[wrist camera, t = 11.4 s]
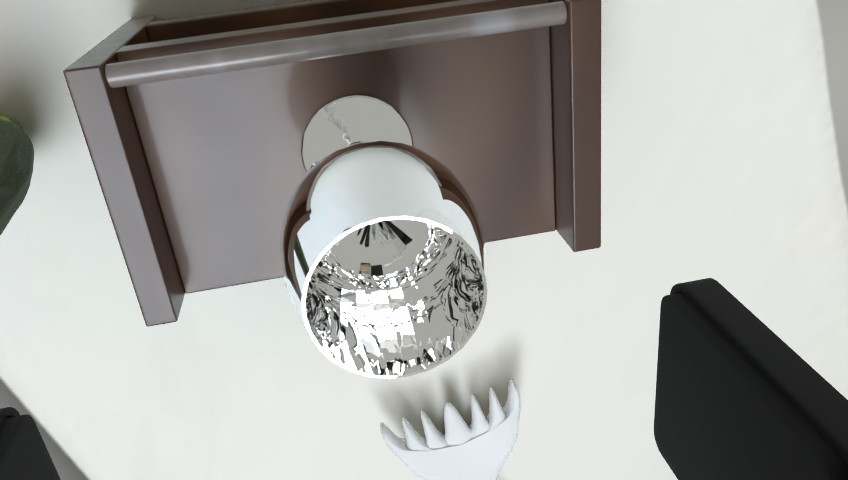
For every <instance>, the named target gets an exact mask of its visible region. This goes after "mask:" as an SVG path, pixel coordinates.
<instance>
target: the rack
mask: <svg viewBox="0 0 848 480" xmlns="http://www.w3.org/2000/svg"><path fill="white" fill-rule="evenodd" d="M63 73H64V76H65V79H66V82H67V85H68V88H69V91H70V94H71V97H72V100H73V103H74V106H75V109H76V112H77V115H78V118H79V122H80V125H81V128H82V131H83V134H84V137H85V140H86V143H87V146H88V149H89V152H90V155H91V158H92V161H93V164H94V167H95V170H96V173H97V176H98V180H99V183H100V186H101V189H102V192H103V195H104V198H105V201H106V204H107V207H108V210H109V213H110V216H111V219H112V222H113V225H114V228H115V231H116V235H117V238H118V241H119V244H120V247H121V250H122V253H123V256H124V259H125V262H126V265H127V268H128V271H129V274H130V277H131V280H132V283H133V286H134V290H135V293H136V296H137V299H138V302H139V305H140V308H141V311H142V314H143V317H144V320H145V323H146V326H153V325H159V324H165V323H171V322H176V321H177V320H178V316H179V312H180V309H181V305H182V301H183V298H184V294H185V293H192V292H198V291H204V290H210V289H216V288H221V287H227V286H233V285H239V284H245V283H251V282H257V281H262V280H268V279H274V278H280V277H284V275H283V269H282V264H281V258H280V234H281V226H282V221H283V216H284V214H285V211H286V208H287V206H288V203H289V201H290V198H291V195H292V193H293V192H294V190H295V189H296V187H297V185H298V184H299V182H300V181H301V179H302V177H303V176H304V175H305V174H306V171H305V169H304V166H303V162H302V157H301V140H302V137H303V134H304V131H305V127H306V126H307V124H308V122H309V120H310V119H311V118H312V116H313V115H314V114H315V113H316V112H317V111H318V110H319V109H320V108H321V107H323V106H324V105H325V104H327V103H329V102H331V101H332V100H334V99H337V98H340V97H343V96H349V95H368V96H372V97H375V98H379V99H381V100H383V101H385V102H387V103H389V104H390V105H392V106H393V107H394V108H395V109H396V110H397V111H399V112H400V113H401V115H402V116H403V118H404V119H405V120H406V122H407V123H408V126H409V128H410V131H411V133H412V138H413V145H414V147H416V148H418V149H421V150H422V151H424V152H426V153H427V154H429V155H431V156H432V157H434V158H436V159H437V160H438V161H440V162H441V163H442V164H443V165H444V166H446V167H447V168H448V169H449V170H450V171H451V172H452V173H453V174H454V175H455V176H456V177H457V178H458V180H459V181H460V182H461V183H462V185H463V186H464V188H465V190H466V191H467V193H468V195H469V196H470V198H471V200H472V202H473V205H474V207H475V209H476V212H477V214H478V216H479V220H480V223H481V227H482V231H483V235H484V241H485V242H491V241H497V240H503V239H508V238H514V237H520V236H526V235H532V234H538V233H544V232H549V231H555V230H557V231H558V232H559V234H560V235H561V236H562V238H563V239H564V240H565V241H566V243H567V244H568V245H569V246H570V248H571V249H572V250H573V251H574V252H577V251H583V250H588V249H594V248H599V247H600V246H601V0H311V1H303V2H296V3H288V4H281V5H273V6H266V7H258V8H251V9H243V10H236V11H228V12H221V13H213V14H206V15H198V16H191V17H183V18H176V19H168V20H161V21H158V20H157V17H156V16H148V17H140V18H133V19H130V20H129V21H128V22H126V23H125V24H124V25H122V26H121V27H120V28H119V29H117V30H116V31H115V32H113V33H112V34H111V35H109V36H108V37H107V38H105V39H104V40H103V41H102V42H100V43H99V44H98V45H96V46H95V47H94V48H92V49H91V50H90V51H89V52H87V53H86V54H85V55H83V56H82V57H81V58H79V59H78V60H77V61H75V62H74V63H73V64H72V65H70V66H69V67H68V68H66V69H65V70H64V71H63Z"/></svg>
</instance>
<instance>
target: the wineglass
mask: <svg viewBox="0 0 848 480" xmlns="http://www.w3.org/2000/svg"><path fill="white" fill-rule="evenodd" d="M301 157H302V162H303V166H304V169H305V171H306V174H305V175H304V176H303V177H302V179H301V181H300V182H299V184H298V185H297V187H296V189H295V190H294V192H293V193H292V195H291V198H290V201H289V203H288V206H287V208H286V211H285V214H284V216H283V221H282V226H281V234H280V258H281V264H282V269H283V275H284V279H285V282H286V286H287V289H288V292H289V295H290V298H291V300H292V303H293V305H294V307H295V309H296V311H297V314H298V316H299V318H300V320H301V322H302V324H303V326H304V327H305V329H306V331H307V333H308V334H309V336H310V337H311V339H312V340H313V342H314V343H315V344H316V346H317V347H318V348H319V350H320V351H321V352H322V353H323V354H324V355H325V356H327V357H328V358H329V359H330V360H331V361H333V362H334V363H335V364H337V365H339V366H341V367H343V368H345V369H346V370H348V371H350V372H353V373H357V374H360V375H364V376H367V377H376V378H387V379H390V378H398V377H407V376H412V375H415V374H419V373H422V372H425V371H428V370H430V369H432V368H434V367H436V366H438V365H440V364H442V363H443V362H445V361H447V360H448V359H450V358H451V357H452V356H453V355H454V354H456V353H457V352H458V351H459V350H460V349H462V348H463V347H464V345H465V344H466V343H467V341H468V340H469V339H470V338H471V336H472V335H473V334H474V332H475V331H476V329H477V327H478V325H479V324H480V321H481V319H482V316H483V314H484V309H485V305H486V297H487V257H486V249H485V241H484V235H483V231H482V227H481V223H480V220H479V216H478V214H477V212H476V209H475V207H474V205H473V202H472V200H471V198H470V196H469V195H468V193H467V191H466V190H465V188H464V186H463V185H462V183H461V182H460V181H459V180H458V178H457V177H456V176H455V175H454V174H453V173H452V172H451V171H450V170H449V169H448V168H447V167H446V166H444V165H443V164H442V163H441V162H440V161H438V160H437V159H436V158H434V157H432V156H431V155H429V154H427V153H426V152H424V151H422V150H421V149H418V148H416V147H414V145H413V138H412V133H411V131H410V128H409V126H408V123H407V122H406V120H405V119H404V118H403V116H402V115H401V113H400V112H399V111H397V110H396V109H395V108H394V107H393V106H392V105H390V104H389V103H387V102H385V101H383V100H381V99H379V98H375V97H372V96H368V95H349V96H343V97H340V98H337V99H334V100H332V101H331V102H329V103H327V104H325V105H324V106H323V107H321V108H320V109H319V110H318V111H317V112H316V113H315V114H314V115H313V116H312V118H311V119H310V120H309V122H308V124H307V126H306V127H305V131H304V134H303V137H302V140H301Z"/></svg>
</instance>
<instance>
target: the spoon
mask: <svg viewBox="0 0 848 480" xmlns="http://www.w3.org/2000/svg"><path fill="white" fill-rule="evenodd" d="M471 412H472V422H471V425H470V426H468V425H467V424H466V422H465V421H464V420H463V418H462V417H461V415H460V414H459V412H458V411H457V410H456V408H455V407H454V406H453V405H452V404H451V403H446V404H445V406H444V423H445V435H444V434H442V433H440V432H439V431H438V430H437V428H436V427H435V426H434V424H433V423H432V422H431V420H430V419H429V417H428V416H427V415H426V414H425V412H424V411H421V419H422V424H423V428H424V431H425V436H426V437H423V436H421V435H420V434H419V433H418V432H416V431H415V429H414V428H413V427H412V426H411V424H410V423H409V422H408V421H407V420H406V419H405V418H404V417H403V418H402V424H403V428H404V432H405V436H406V439H401V438H399V437H397V436H396V435H395V434H394V433H393V432H392V431H391V430H390V429H389V428H388V427H387V426H386V425H385V424H384V423H382V422H381V423H380V429H381V434H382V437H383V439H384V441H385V443H386V445H387V446H388V447H389V448H390V450H391V451H392V452H393V453H394V454H395V455H396V456H397V457H398V458H399V459H400V460H401V461H402V462H403V463H404V464H405V465H406V466H407V467H408V468H409V469H410V470H411V471H412V472H413V473H414V474H415V475H417V476H418V477H420V478H422V479H424V480H497V477H498V474H499V472H500V470H501V468H502V466H503V464H504V462H505V461H506V459H507V458H508V456H509V455H510V453H511V452H512V450H513V448H514V446H515V443H516V440H517V435H518V425H519V415H520V397H519V392H518V389H517V386H516V384H515V382H514V381H513V380H512V379H510V381H509V387H508V400H507V403H506V404H505V405H504V406H503V407H501V405H500V403H499V401H498V399H497V397H496V394H495V392H494V391H493V389H492V388H490V391H489V414H488V416H487V418H486V417H485V416H484V414H483V412H482V409H481V407H480V405H479V403H478V401H477V399H476V397H475V396H474V394H471Z"/></svg>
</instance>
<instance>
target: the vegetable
mask: <svg viewBox="0 0 848 480" xmlns="http://www.w3.org/2000/svg"><path fill="white" fill-rule="evenodd" d="M33 160H34V149H33V144H32V142H31V140H30V139H29V137H28V136H27V135H26V133H25V131H24V130H23V128H22V127H21V126H20V125H19V124H18V123H15V122H12V121H11V120H10V119H8V118H7V117H5V116H2V115H1V116H0V235H1V233H2V232H3V230H4V229H5V227H6V226H7V224H8V223H9V221H10V219H11V218H12V216H13V215H14V213H15V212H16V210H17V209H18V208H19V206H20V205H21V204H22V202H23V200H24V198H25V196H26V194H27V191H28V189H29V185H30V181H31V177H32V172H33Z"/></svg>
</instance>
